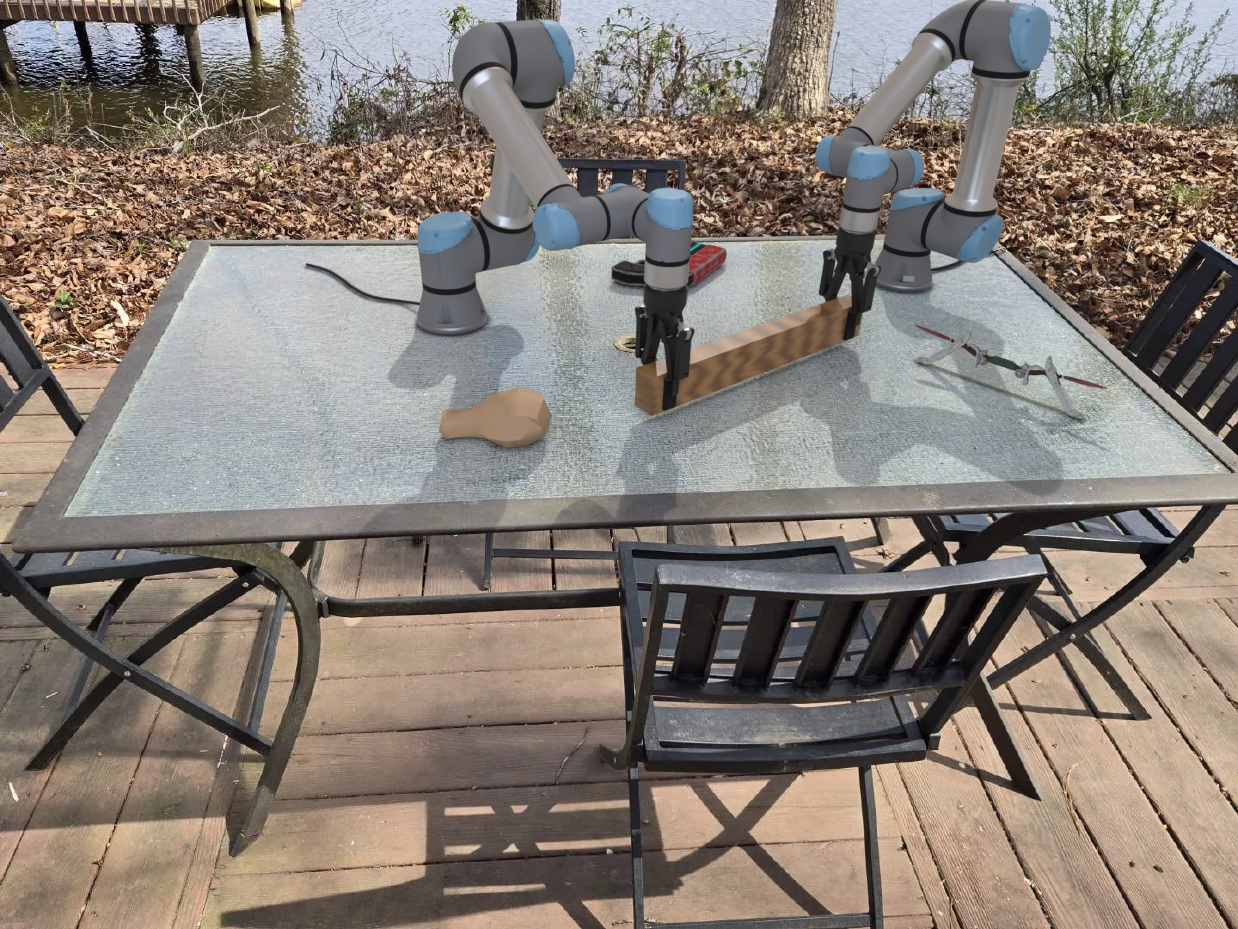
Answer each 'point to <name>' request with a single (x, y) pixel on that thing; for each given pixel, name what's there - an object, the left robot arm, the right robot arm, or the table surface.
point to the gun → (700, 265)
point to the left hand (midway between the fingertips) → (659, 401)
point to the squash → (501, 419)
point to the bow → (1020, 371)
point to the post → (747, 354)
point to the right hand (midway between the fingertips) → (838, 333)
